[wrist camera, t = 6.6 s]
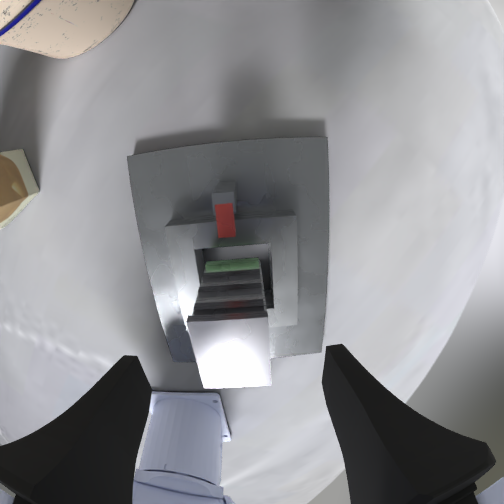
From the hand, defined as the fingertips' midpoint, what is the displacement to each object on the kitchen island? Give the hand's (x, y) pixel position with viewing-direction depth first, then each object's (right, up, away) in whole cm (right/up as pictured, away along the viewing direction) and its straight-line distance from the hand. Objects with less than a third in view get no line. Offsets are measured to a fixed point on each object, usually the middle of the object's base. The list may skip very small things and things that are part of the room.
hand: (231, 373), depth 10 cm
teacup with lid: (-13, +22, +2) cm, 26 cm away
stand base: (0, +4, +9) cm, 10 cm away
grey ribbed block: (0, +3, +6) cm, 7 cm away
